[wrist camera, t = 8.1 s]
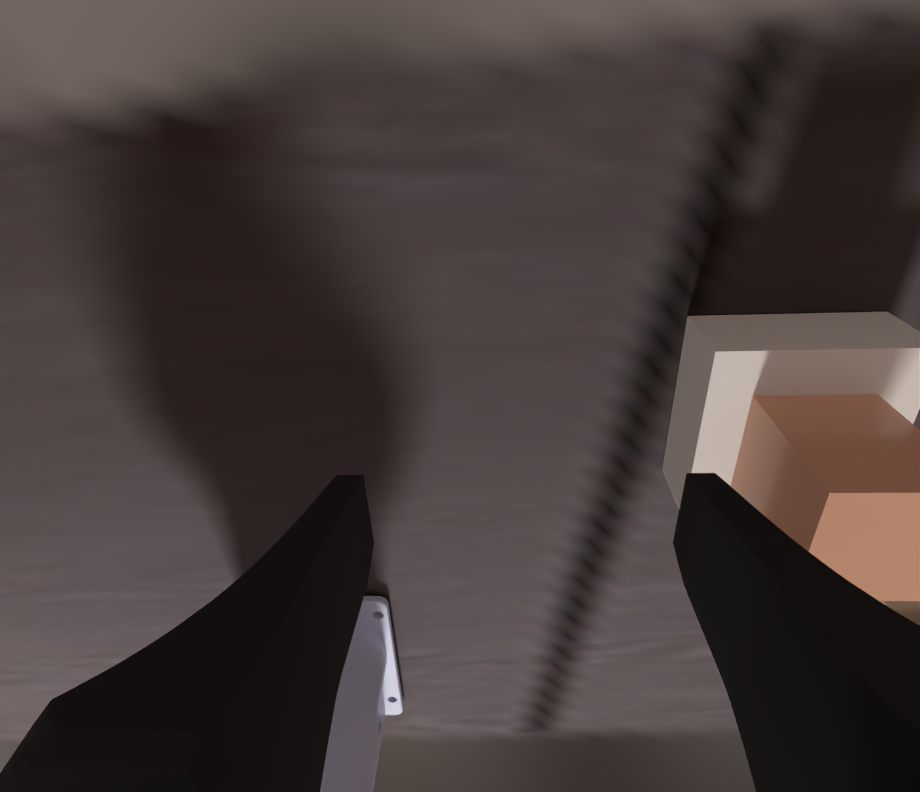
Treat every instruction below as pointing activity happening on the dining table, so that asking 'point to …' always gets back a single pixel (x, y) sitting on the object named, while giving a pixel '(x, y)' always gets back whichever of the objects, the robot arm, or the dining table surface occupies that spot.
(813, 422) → the terracotta block
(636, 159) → the dining table surface
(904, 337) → the slab
